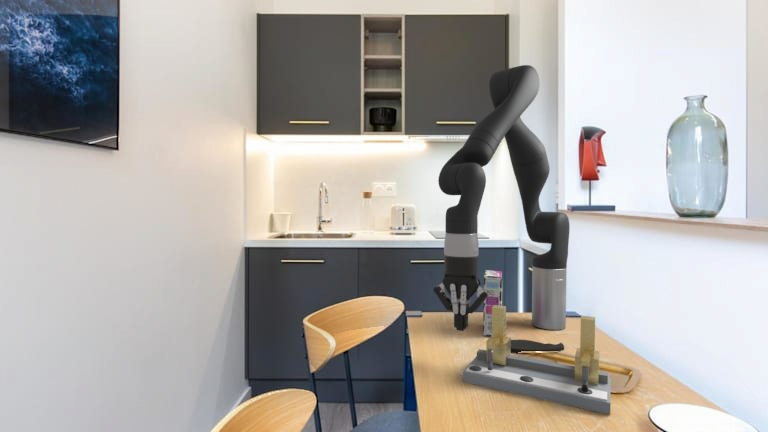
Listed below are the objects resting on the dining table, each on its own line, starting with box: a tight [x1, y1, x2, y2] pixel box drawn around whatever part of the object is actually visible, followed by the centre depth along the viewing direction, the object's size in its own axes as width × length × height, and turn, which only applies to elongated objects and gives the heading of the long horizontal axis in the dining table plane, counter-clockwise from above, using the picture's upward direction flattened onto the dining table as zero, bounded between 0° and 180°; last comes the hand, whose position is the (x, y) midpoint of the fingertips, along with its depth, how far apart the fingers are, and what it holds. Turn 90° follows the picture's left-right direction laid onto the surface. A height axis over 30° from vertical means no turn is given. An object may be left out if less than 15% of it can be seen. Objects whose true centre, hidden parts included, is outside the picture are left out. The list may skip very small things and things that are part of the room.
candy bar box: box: [482, 269, 503, 338], centre depth 113 cm, size 11×5×16 cm, turn 164°
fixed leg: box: [574, 315, 600, 392], centre depth 76 cm, size 10×4×12 cm, turn 151°
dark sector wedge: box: [511, 339, 565, 354], centre depth 100 cm, size 8×14×2 cm, turn 80°
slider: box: [485, 305, 512, 370], centre depth 85 cm, size 10×4×11 cm, turn 151°
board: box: [462, 349, 612, 415], centre depth 81 cm, size 12×26×4 cm, turn 61°
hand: (460, 329), depth 91 cm, fingers closed
